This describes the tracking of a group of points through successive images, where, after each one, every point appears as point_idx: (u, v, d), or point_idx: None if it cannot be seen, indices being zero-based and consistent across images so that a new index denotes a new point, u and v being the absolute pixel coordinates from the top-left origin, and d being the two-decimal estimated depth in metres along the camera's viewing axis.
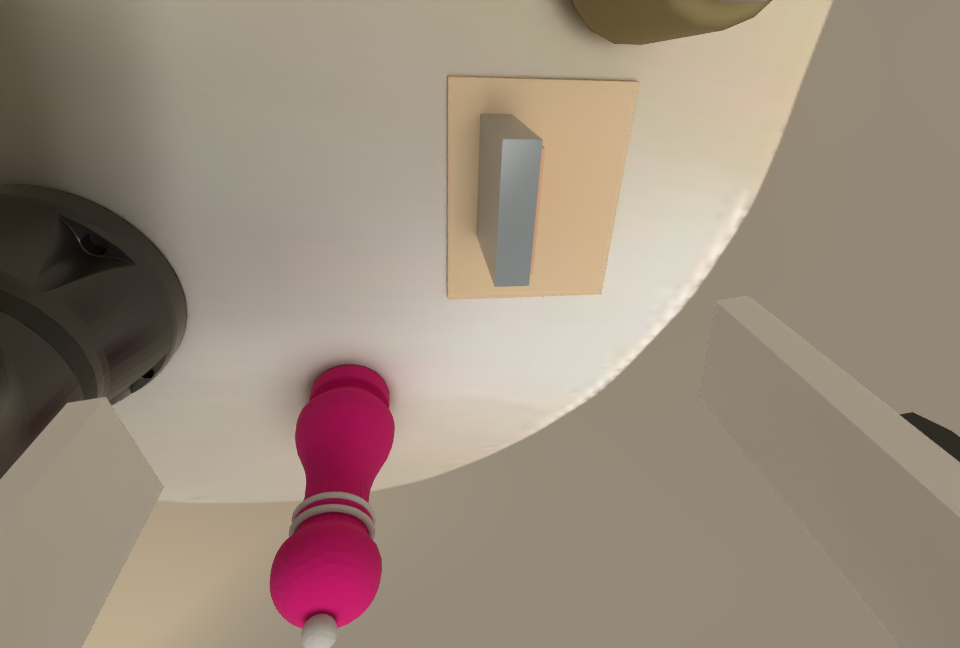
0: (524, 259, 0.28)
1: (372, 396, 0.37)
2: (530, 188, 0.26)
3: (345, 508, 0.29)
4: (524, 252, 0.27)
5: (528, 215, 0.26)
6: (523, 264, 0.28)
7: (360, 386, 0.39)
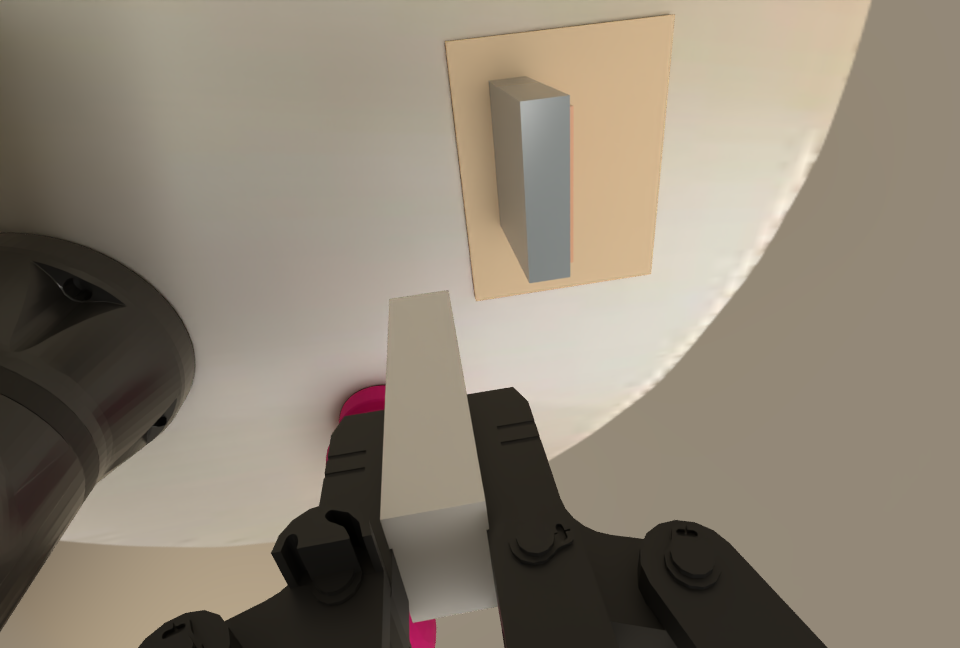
0: (561, 246, 0.23)
1: None
2: (560, 158, 0.21)
3: None
4: (561, 238, 0.23)
5: (561, 192, 0.22)
6: (561, 252, 0.23)
7: None
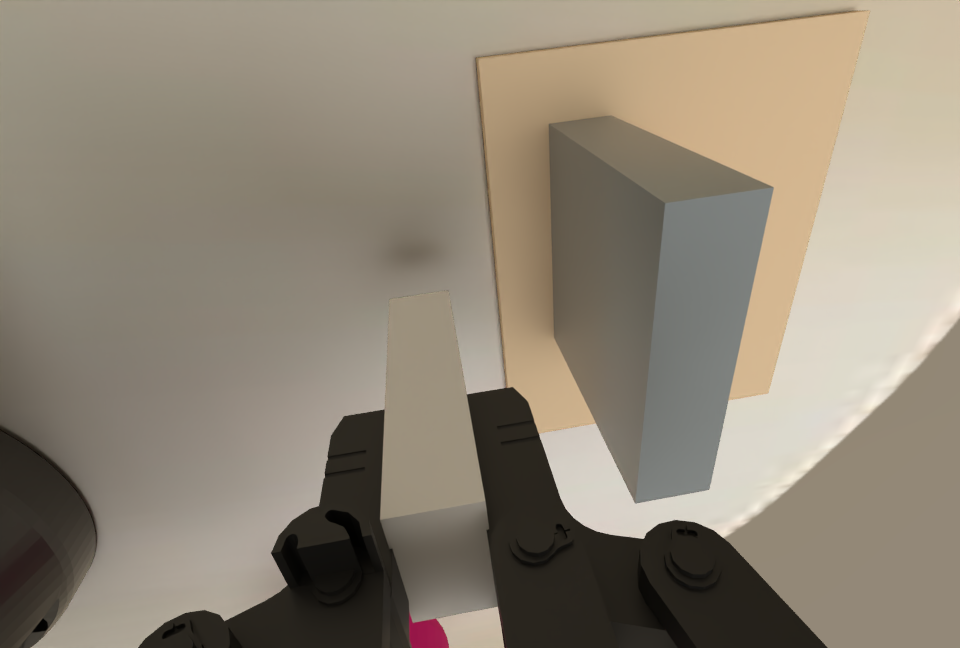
0: (703, 447, 0.12)
1: None
2: (729, 307, 0.10)
3: None
4: (704, 435, 0.12)
5: (719, 364, 0.11)
6: (700, 456, 0.12)
7: None
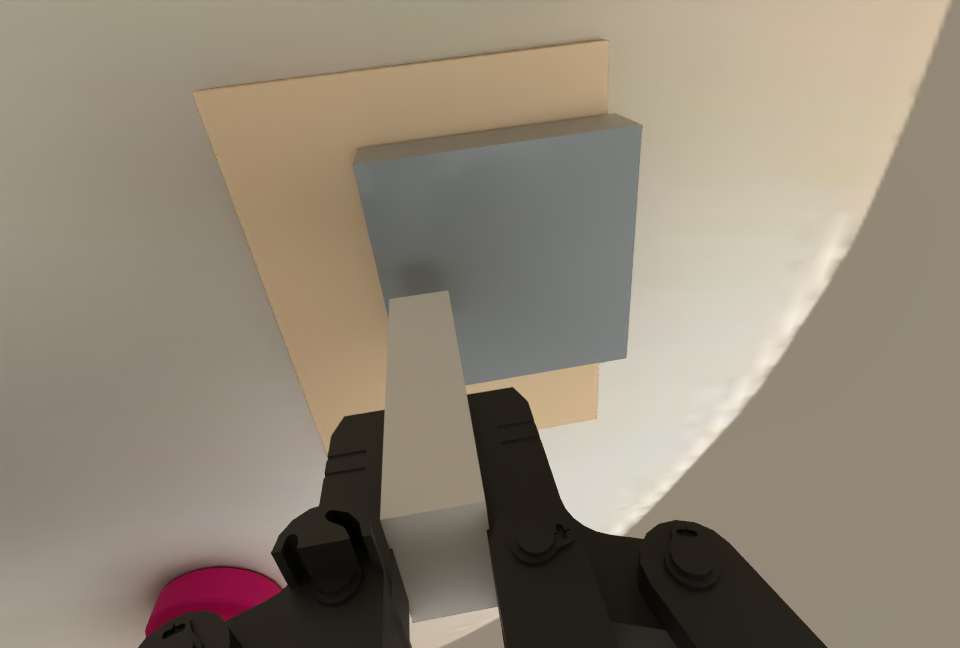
0: None
1: None
2: None
3: None
4: None
5: None
6: None
7: (217, 612, 0.24)
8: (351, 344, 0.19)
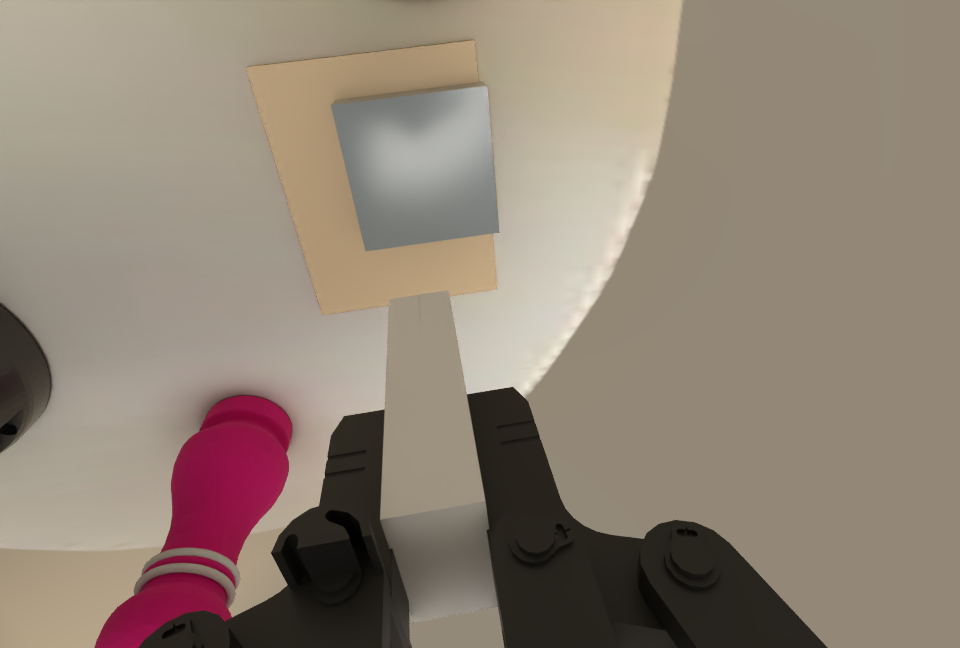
0: None
1: (252, 430, 0.34)
2: None
3: (187, 567, 0.26)
4: None
5: None
6: None
7: (247, 418, 0.36)
8: (334, 225, 0.31)
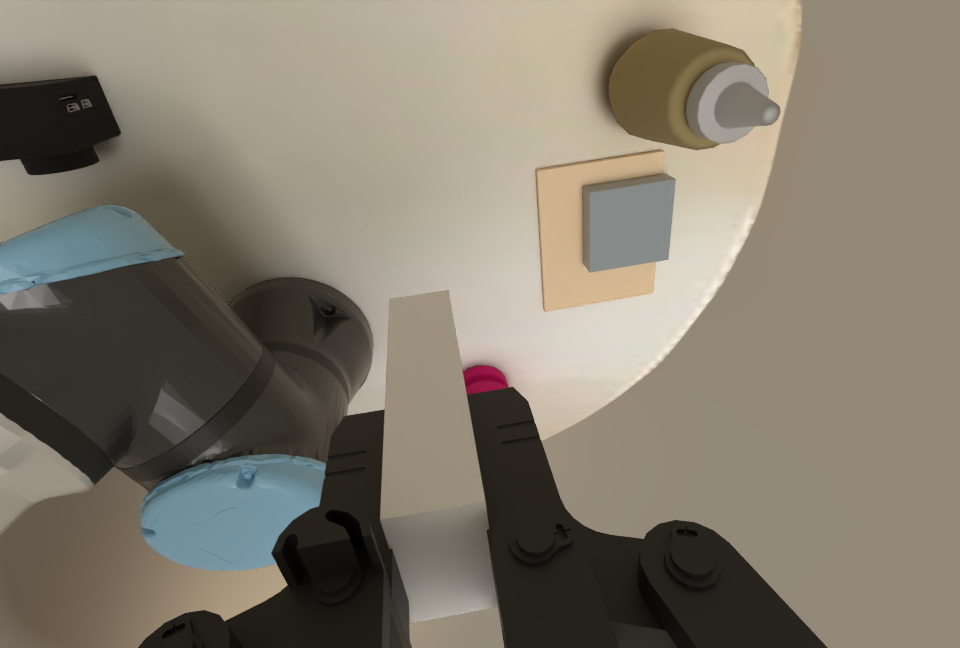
0: None
1: (502, 385, 0.53)
2: None
3: None
4: None
5: None
6: None
7: (490, 379, 0.55)
8: (564, 257, 0.50)
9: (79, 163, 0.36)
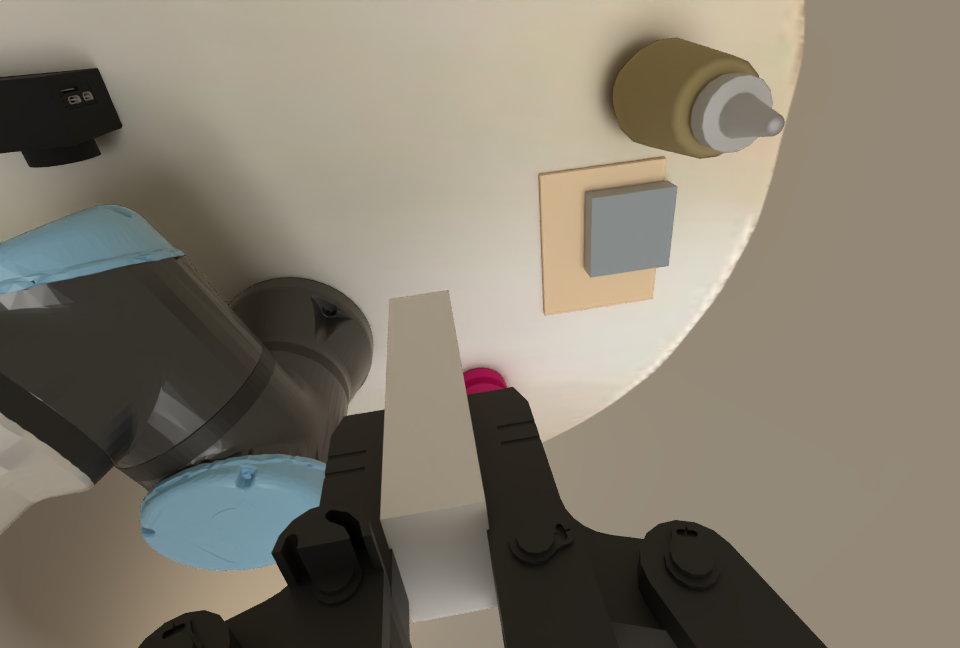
0: None
1: (501, 388, 0.54)
2: None
3: None
4: None
5: None
6: None
7: (489, 382, 0.55)
8: (565, 261, 0.51)
9: (80, 156, 0.35)
